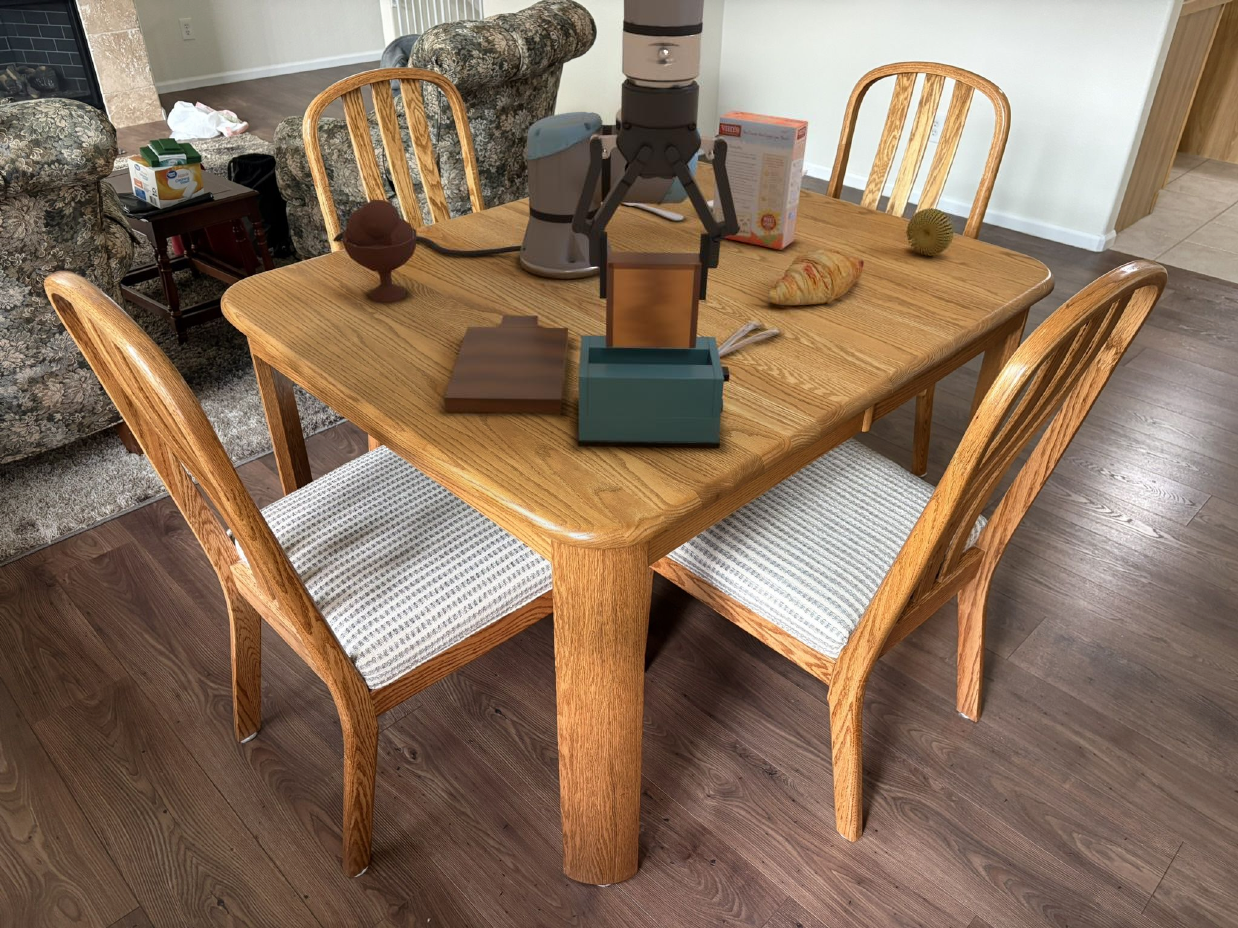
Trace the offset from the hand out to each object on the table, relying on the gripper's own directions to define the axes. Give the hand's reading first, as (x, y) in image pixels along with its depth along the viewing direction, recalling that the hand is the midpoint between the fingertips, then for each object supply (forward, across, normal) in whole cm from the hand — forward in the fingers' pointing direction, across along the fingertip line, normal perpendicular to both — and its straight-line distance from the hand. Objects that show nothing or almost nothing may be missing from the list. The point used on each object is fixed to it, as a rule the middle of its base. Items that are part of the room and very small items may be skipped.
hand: (652, 294), depth 99 cm
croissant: (+17, +27, +40) cm, 52 cm away
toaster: (+16, 0, 0) cm, 16 cm away
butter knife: (+17, 0, +82) cm, 84 cm away
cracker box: (+17, +21, +64) cm, 70 cm away
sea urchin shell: (+17, +50, +58) cm, 78 cm away
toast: (+6, 0, 0) cm, 6 cm away
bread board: (+17, -17, +14) cm, 28 cm away
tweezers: (+17, +12, +19) cm, 28 cm away
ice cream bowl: (+17, -39, +37) cm, 56 cm away
